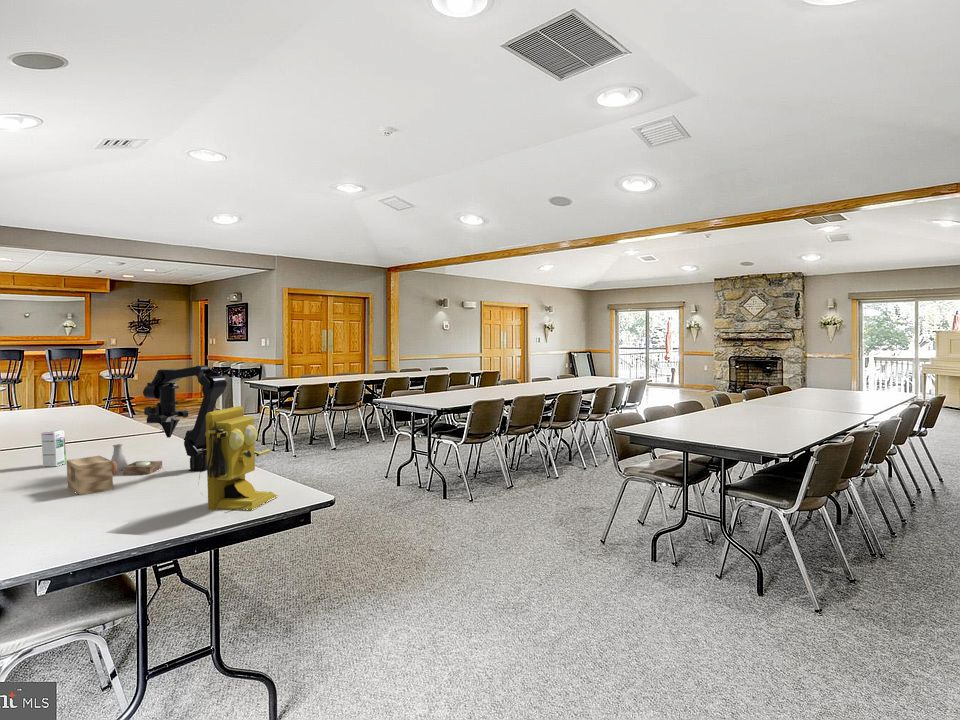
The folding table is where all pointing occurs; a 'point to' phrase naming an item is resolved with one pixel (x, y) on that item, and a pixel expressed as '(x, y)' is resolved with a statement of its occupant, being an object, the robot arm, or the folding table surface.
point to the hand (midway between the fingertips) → (168, 437)
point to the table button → (142, 463)
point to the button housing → (142, 468)
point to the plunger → (114, 468)
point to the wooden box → (89, 474)
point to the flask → (119, 457)
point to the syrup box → (53, 448)
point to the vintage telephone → (231, 460)
